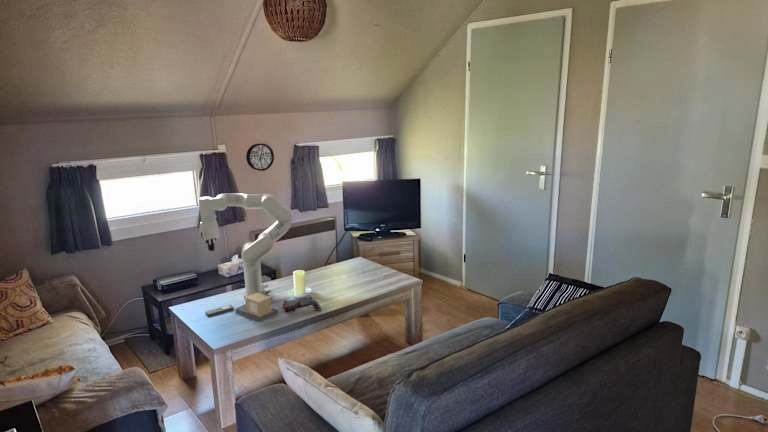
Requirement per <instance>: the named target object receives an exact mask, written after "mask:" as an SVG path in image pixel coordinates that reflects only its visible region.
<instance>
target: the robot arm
mask: <svg viewBox="0 0 768 432" xmlns="http://www.w3.org/2000/svg"><path fill="white" fill-rule="evenodd" d="M198 204H199V213H200V222H199V225H198V226H199V230H198V232H199V239H200V240H201V243H205V244H207V250H208V251H210V252H213V251H215V244H216V241H217V240H218V239H220V228H219V224H218V221H217V219H216V218H217V216H218V215H216V213H215V212H216V211H224V210H226V209H227V207H239V208H240V207H241V208H242V209H246V210H264V212H266V213H267V215H269V216H270V217H272V218H273V219H274V220H275V222H274V223H273V224H272V225H271V226H270V227H268V228H267V229H265V230H264V231H262V232H261V233H260V234H259V235H258V236H257V239H256V240H255V241H254V242H253V241H249V242H247V243H245V244H244V245H243V246H242V249H241V252H240V253H241V255H240V256H241V257H240V258H241V260H242V262H243V276H244V277H243V278H244V288H245V291H244V292H243V294H242V295H243V297H244V298H245V297H247V296H250V295H252V294H255V293H260V294H263V295H266V290H265V289H267V288H269V284H268V283H266V284H264V283H263V282H262V281H263V279H262V268H261V267H262V266H261V259H262V258H264V257H265V256H266V255H267V254H269V253H270V252H271V251H272V250H273V249H274V247H275V243H276V242H277V241H278V240H280V238H282V237H283V236H284V235H285V234H287V232H288V231H289V230H290V229H291V226H292V223H293V210H292V209H291V208H290V207H289V206H288V205H282V204H281V203H280V202H279V201H277V198H276V196H275V195H274V194H272V193H233V192H232V193H220V194H217V195H216V197H212V196H201V197H199V199H198Z"/></svg>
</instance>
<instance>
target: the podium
mask: <svg viewBox="0 0 768 432" xmlns="http://www.w3.org/2000/svg"><path fill="white" fill-rule="evenodd" d="M234 310H235V314H238V315H240V316H244V317H246V318H249V319H252V320H254V321H255V322H259V323H261V322H263V321H266V320H268V319H270V318H272V317H273V316H276V315H278V314H279V310H278V309H277V308H274V307H272V312H270V313H268V314H266V315H263V316H261V317H259V316H256V315H253V314H251V313H248V312H246V303H244V304H242V305H240V306H238V307H234ZM265 319H266V320H265Z"/></svg>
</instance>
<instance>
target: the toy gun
mask: <svg viewBox="0 0 768 432" xmlns="http://www.w3.org/2000/svg"><path fill="white" fill-rule="evenodd" d="M281 306H282V309H283V310H284V313H290V312H294V311H296V310H298V309H301V308H302V309H303V308H306V307H307V308H308V309H314V310H313V311H314V312H321V310H322V306H321V305H320V303H319V302H318V301H317V299H315V298H313V297H312V296H306V295H304V296H300V297H298V298H294V299H290V300H287V299H285V300H283V303H282V304H281Z"/></svg>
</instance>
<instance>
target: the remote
mask: <svg viewBox="0 0 768 432" xmlns="http://www.w3.org/2000/svg"><path fill="white" fill-rule="evenodd" d="M234 310H235V306H233V305H232V304H228V305H225V306H222V307H217V308H213V309H210V310H206V311H205V316H206V317H208V318H210V317H214V316H217V315H220V314H224V313H227V312H232V311H234Z"/></svg>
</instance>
